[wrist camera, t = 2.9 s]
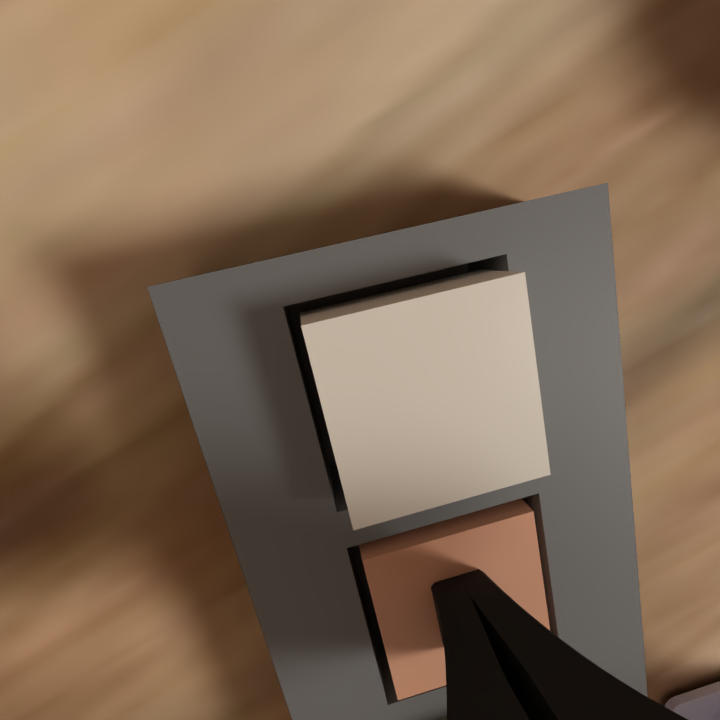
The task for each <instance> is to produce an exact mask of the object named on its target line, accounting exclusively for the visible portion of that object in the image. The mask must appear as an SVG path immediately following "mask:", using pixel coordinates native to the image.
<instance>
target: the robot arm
mask: <svg viewBox="0 0 720 720" xmlns="http://www.w3.org/2000/svg"><path fill="white" fill-rule="evenodd" d="M431 591H432V596H433V600H434V605H435V610H436V614H437V619H438V624H439V628H440V633H441V637H442V642H443V646H444V652H445V666H446V690H447V720H720V681H718V682H715V683H712V684H709V685H706V686H703V687H700V688H697V689H694V690H691V691H688V692H685V693H683V694H680V695H677V696H674V697H672V698H670V699H669V700H668V701H667V702H666V704H665V707H664V706H662V705H660V704H659V703H657V702H655V701H653V700H652V699H650V698H648V697H647V696H645V695H643V694H642V693H640V692H638V691H637V690H635V689H633V688H632V687H630V686H628V685H627V684H625V683H624V682H622V681H620V680H619V679H617V678H616V677H614V676H613V675H611V674H610V673H608V672H606V671H605V670H603V669H602V668H600V667H599V666H598V665H596V664H595V663H593V662H592V661H590V660H589V659H587V658H586V657H585V656H583V655H582V654H580V653H579V652H578V651H576V650H575V649H574V648H572V647H571V646H570V645H568V644H567V643H565V642H564V641H563V640H561V639H560V638H559V637H558V636H556V635H555V634H554V633H552V632H551V631H550V630H549V629H547V628H546V627H545V626H544V625H543V624H541V623H540V622H539V621H538V620H536V619H535V618H534V617H533V616H532V615H530V614H529V613H528V612H527V611H526V610H524V609H523V608H522V607H521V606H520V605H519V604H517V603H516V602H515V601H514V600H513V599H512V598H511V597H510V596H508V595H507V594H506V593H505V592H504V591H503V590H502V589H501V588H500V587H499V586H498V585H497V584H496V583H495V582H493V581H492V580H491V579H490V578H489V577H488V576H487V575H486V574H485V573H484V572H483V571H481V570H480V569H478V570H474V571H471V572H468V573H464V574H461V575H458V576H454V577H451V578H448V579H444V580H441V581H438V582H434V584H433V585H432V586H431Z"/></svg>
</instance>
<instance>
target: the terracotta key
mask: <svg viewBox="0 0 720 720" xmlns="http://www.w3.org/2000/svg"><path fill="white" fill-rule="evenodd" d="M359 548H360V552H361V557H362V561H363V565H364V569H365V573H366V577H367V581H368V585H369V589H370V593H371V597H372V601H373V605H374V608H375V612H376V616H377V620H378V624H379V628H380V632H381V636H382V640H383V644H384V648H385V652H386V655H387V659H388V663H389V667H390V671H391V675H392V679H393V683H394V687H395V691H396V695H397V699H398V700H401V699H404V698H408V697H411V696H414V695H417V694H420V693H423V692H426V691H429V690H433V689H436V688H439V687H442V686H445V685H446V666H445V652H444V646H443V642H442V637H441V633H440V628H439V624H438V619H437V614H436V610H435V605H434V600H433V596H432V591H431V586H432V585H433V584H434V582H438V581H441V580H444V579H448V578H451V577H454V576H458V575H461V574H464V573H468V572H471V571H474V570H478V569H480V570H481V571H483V572H484V573H485V574H486V575H487V576H488V577H489V578H490V579H491V580H492V581H493V582H495V583H496V584H497V585H498V586H499V587H500V588H501V589H502V590H503V591H504V592H505V593H506V594H507V595H508V596H510V597H511V598H512V599H513V600H514V601H515V602H516V603H517V604H519V605H520V606H521V607H522V608H523V609H524V610H526V611H527V612H528V613H529V614H530V615H532V616H533V617H534V618H535V619H536V620H538V621H539V622H540V623H541V624H543V625H544V626H545V627H546V628H547V629H549V630H550V625H549V618H548V611H547V604H546V597H545V589H544V582H543V575H542V568H541V561H540V554H539V547H538V539H537V532H536V525H535V518H534V511H533V510H532V509H531V508H530V507H529V506H528V505H527V504H526V503H525V502H524V501H523V500H522V499H517V500H514V501H510V502H507V503H503V504H500V505H496V506H493V507H489V508H486V509H482V510H479V511H475V512H472V513H468V514H465V515H461V516H458V517H454V518H451V519H447V520H444V521H440V522H437V523H433V524H430V525H426V526H423V527H419V528H416V529H412V530H409V531H405V532H402V533H398V534H395V535H391V536H388V537H384V538H381V539H377V540H374V541H370V542H367V543H363V544H360V545H359Z"/></svg>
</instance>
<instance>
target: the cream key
mask: <svg viewBox="0 0 720 720" xmlns="http://www.w3.org/2000/svg"><path fill="white" fill-rule="evenodd" d="M300 319H301V328H302V332H303V336H304V339H305V343H306V347H307V351H308V355H309V359H310V363H311V367H312V371H313V375H314V379H315V382H316V386H317V390H318V394H319V398H320V402H321V406H322V410H323V414H324V418H325V422H326V425H327V429H328V433H329V437H330V441H331V445H332V449H333V453H334V457H335V461H336V464H337V468H338V472H339V476H340V480H341V484H342V488H343V492H344V496H345V500H346V504H347V507H348V511H349V515H350V519H351V523H352V527H353V530H357V529H360V528H364V527H367V526H371V525H374V524H378V523H382V522H385V521H389V520H392V519H396V518H399V517H403V516H406V515H410V514H413V513H417V512H420V511H424V510H427V509H431V508H435V507H438V506H442V505H445V504H449V503H452V502H456V501H459V500H463V499H466V498H470V497H473V496H477V495H480V494H484V493H488V492H491V491H495V490H498V489H502V488H505V487H509V486H512V485H516V484H519V483H523V482H526V481H530V480H533V479H537V478H541V477H544V476H548V475H551V473H550V465H549V458H548V450H547V442H546V434H545V426H544V418H543V410H542V402H541V394H540V386H539V378H538V371H537V363H536V355H535V347H534V339H533V331H532V323H531V315H530V307H529V299H528V292H527V284H526V276H525V272H513V271H492V270H477V271H473V272H469V273H464V274H460V275H456V276H452V277H448V278H443V279H439V280H435V281H431V282H427V283H422V284H418V285H414V286H410V287H405V288H401V289H397V290H393V291H389V292H384V293H380V294H376V295H372V296H368V297H363V298H359V299H355V300H351V301H346V302H342V303H338V304H334V305H330V306H325V307H321V308H317V309H313V310H309V311H304V312H300Z"/></svg>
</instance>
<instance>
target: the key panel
mask: <svg viewBox="0 0 720 720" xmlns="http://www.w3.org/2000/svg"><path fill="white" fill-rule="evenodd" d="M477 270H492V271H513V272H525V276H526V284H527V292H528V299H529V307H530V315H531V323H532V331H533V339H534V347H535V355H536V363H537V371H538V378H539V386H540V394H541V402H542V410H543V418H544V426H545V434H546V442H547V450H548V458H549V465H550V473H551V475H548V476H544V477H541V478H537V479H533V480H530V481H526V482H523V483H519V484H516V485H512V486H509V487H505V488H502V489H498V490H495V491H491V492H488V493H484V494H480V495H477V496H473V497H470V498H466V499H463V500H459V501H456V502H452V503H449V504H445V505H442V506H438V507H435V508H431V509H427V510H424V511H420V512H417V513H413V514H410V515H406V516H403V517H399V518H396V519H392V520H389V521H385V522H382V523H378V524H374V525H371V526H367V527H364V528H360V529H357V530H353V527H352V523H351V519H350V515H349V511H348V507H347V504H346V500H345V496H344V492H343V488H342V484H341V480H340V476H339V472H338V468H337V464H336V461H335V457H334V453H333V449H332V445H331V441H330V437H329V433H328V429H327V425H326V422H325V418H324V414H323V410H322V406H321V402H320V398H319V394H318V390H317V386H316V382H315V379H314V375H313V371H312V367H311V363H310V359H309V355H308V351H307V347H306V343H305V339H304V336H303V332H302V328H301V319H300V312H304V311H309V310H313V309H317V308H321V307H325V306H330V305H334V304H338V303H342V302H346V301H351V300H355V299H359V298H363V297H368V296H372V295H376V294H380V293H384V292H389V291H393V290H397V289H401V288H405V287H410V286H414V285H418V284H422V283H427V282H431V281H435V280H439V279H443V278H448V277H452V276H456V275H460V274H464V273H469V272H473V271H477ZM147 288H148V291H149V294H150V297H151V300H152V303H153V306H154V309H155V312H156V315H157V318H158V321H159V324H160V327H161V330H162V333H163V336H164V339H165V342H166V345H167V348H168V351H169V354H170V357H171V360H172V363H173V366H174V369H175V372H176V375H177V378H178V381H179V384H180V387H181V390H182V393H183V396H184V399H185V402H186V405H187V408H188V411H189V414H190V416H191V419H192V422H193V425H194V428H195V431H196V434H197V437H198V440H199V443H200V446H201V449H202V452H203V455H204V458H205V461H206V464H207V467H208V470H209V473H210V476H211V479H212V482H213V485H214V488H215V491H216V494H217V497H218V500H219V503H220V506H221V509H222V512H223V515H224V518H225V521H226V524H227V527H228V530H229V533H230V536H231V539H232V542H233V545H234V548H235V551H236V554H237V557H238V560H239V563H240V566H241V569H242V572H243V575H244V578H245V581H246V584H247V587H248V590H249V593H250V596H251V599H252V602H253V605H254V607H255V610H256V613H257V616H258V619H259V622H260V625H261V628H262V631H263V634H264V637H265V640H266V643H267V646H268V649H269V652H270V655H271V658H272V661H273V664H274V667H275V670H276V673H277V676H278V679H279V682H280V685H281V688H282V691H283V694H284V697H285V700H286V703H287V706H288V709H289V712H290V715H291V718H292V720H436V719H439V718H442V717H445V716H447V690H446V685H445V686H442V687H439V688H436V689H433V690H429V691H426V692H423V693H420V694H417V695H414V696H411V697H408V698H404V699H401V700H398V699H397V695H396V691H395V687H394V683H393V679H392V675H391V671H390V667H389V663H388V659H387V655H386V652H385V648H384V644H383V640H382V636H381V632H380V628H379V624H378V620H377V616H376V612H375V608H374V605H373V601H372V597H371V593H370V589H369V585H368V581H367V577H366V573H365V569H364V565H363V561H362V557H361V552H360V548H359V545H360V544H363V543H367V542H370V541H374V540H377V539H381V538H384V537H388V536H391V535H395V534H398V533H402V532H405V531H409V530H412V529H416V528H419V527H423V526H426V525H430V524H433V523H437V522H440V521H444V520H447V519H451V518H454V517H458V516H461V515H465V514H468V513H472V512H475V511H479V510H482V509H486V508H489V507H493V506H496V505H500V504H503V503H507V502H510V501H514V500H517V499H522V500H523V501H524V502H525V503H526V504H527V505H528V506H529V507H530V508H531V509H532V510H533V511H534V518H535V525H536V532H537V539H538V547H539V554H540V561H541V568H542V575H543V582H544V589H545V597H546V604H547V611H548V618H549V625H550V631H551V632H552V633H554V634H555V635H556V636H558V637H559V638H560V639H561V640H563V641H564V642H565V643H567V644H568V645H570V646H571V647H572V648H574V649H575V650H576V651H578V652H579V653H580V654H582V655H583V656H585V657H586V658H587V659H589V660H590V661H592V662H593V663H595V664H596V665H598V666H599V667H600V668H602V669H603V670H605V671H606V672H608V673H610V674H611V675H613V676H614V677H616V678H617V679H619V680H620V681H622V682H624V683H625V684H627V685H628V686H630V687H632V688H633V689H635V690H637V691H638V692H640V693H642V694H643V695H645V696H647V697H648V694H647V682H646V669H645V656H644V643H643V630H642V617H641V604H640V591H639V579H638V566H637V553H636V540H635V527H634V514H633V501H632V489H631V476H630V463H629V450H628V437H627V424H626V411H625V398H624V386H623V373H622V360H621V347H620V334H619V321H618V308H617V296H616V283H615V270H614V257H613V244H612V231H611V218H610V205H609V193H608V183H605V184H600V185H596V186H591V187H587V188H583V189H578V190H574V191H569V192H565V193H560V194H556V195H552V196H547V197H543V198H538V199H534V200H529V201H525V202H521V203H516V204H512V205H507V206H503V207H498V208H494V209H490V210H485V211H481V212H476V213H472V214H467V215H463V216H459V217H454V218H450V219H445V220H441V221H436V222H432V223H428V224H423V225H419V226H414V227H410V228H405V229H401V230H397V231H392V232H388V233H383V234H379V235H374V236H370V237H365V238H361V239H357V240H352V241H348V242H343V243H339V244H334V245H330V246H326V247H321V248H317V249H312V250H308V251H303V252H299V253H295V254H290V255H286V256H281V257H277V258H272V259H268V260H264V261H259V262H255V263H250V264H246V265H241V266H237V267H233V268H228V269H224V270H219V271H215V272H210V273H206V274H202V275H197V276H193V277H188V278H184V279H179V280H175V281H171V282H166V283H162V284H157V285H153V286H148V287H147Z"/></svg>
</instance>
